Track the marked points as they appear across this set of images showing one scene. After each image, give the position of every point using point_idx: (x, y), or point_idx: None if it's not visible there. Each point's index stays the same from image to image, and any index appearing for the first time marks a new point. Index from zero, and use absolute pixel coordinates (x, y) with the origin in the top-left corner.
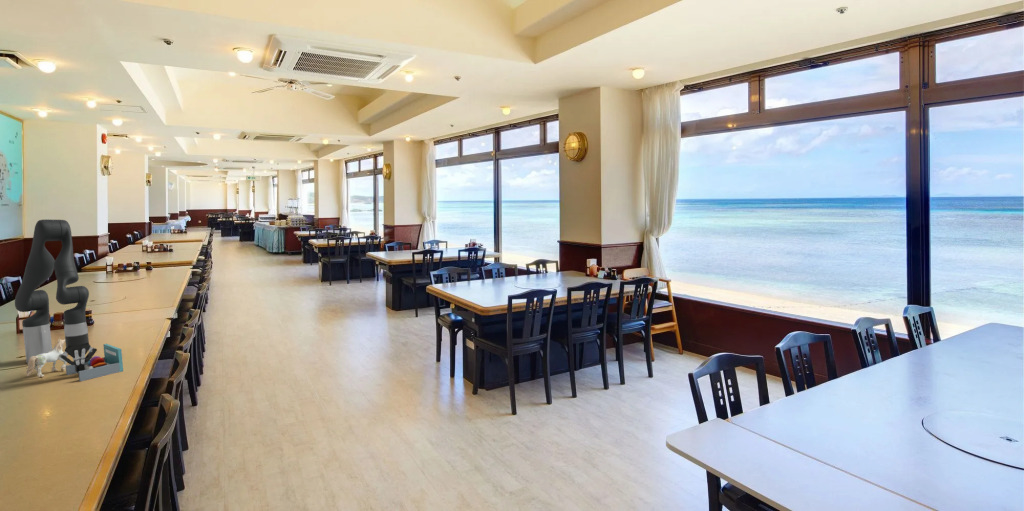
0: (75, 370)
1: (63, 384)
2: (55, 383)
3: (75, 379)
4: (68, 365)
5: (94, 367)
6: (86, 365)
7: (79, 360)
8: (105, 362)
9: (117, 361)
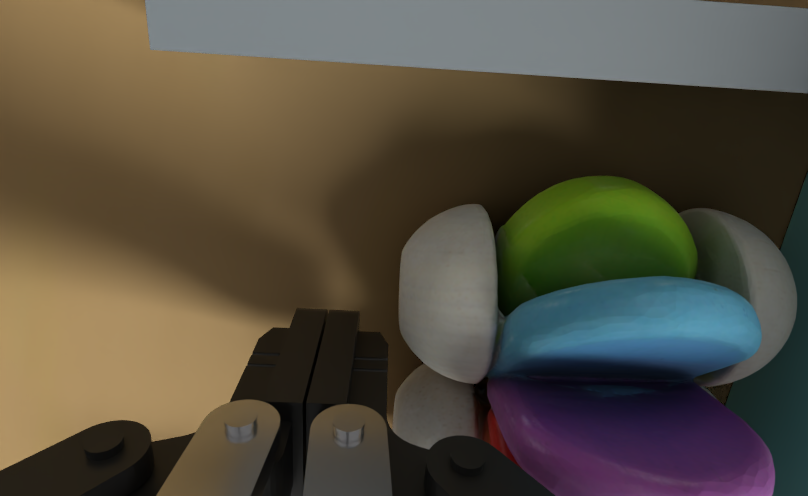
0: (256, 352)
1: None
2: (12, 353)
3: None
4: (197, 29)
5: None
6: (455, 352)
7: (311, 488)
8: (772, 357)
9: None
